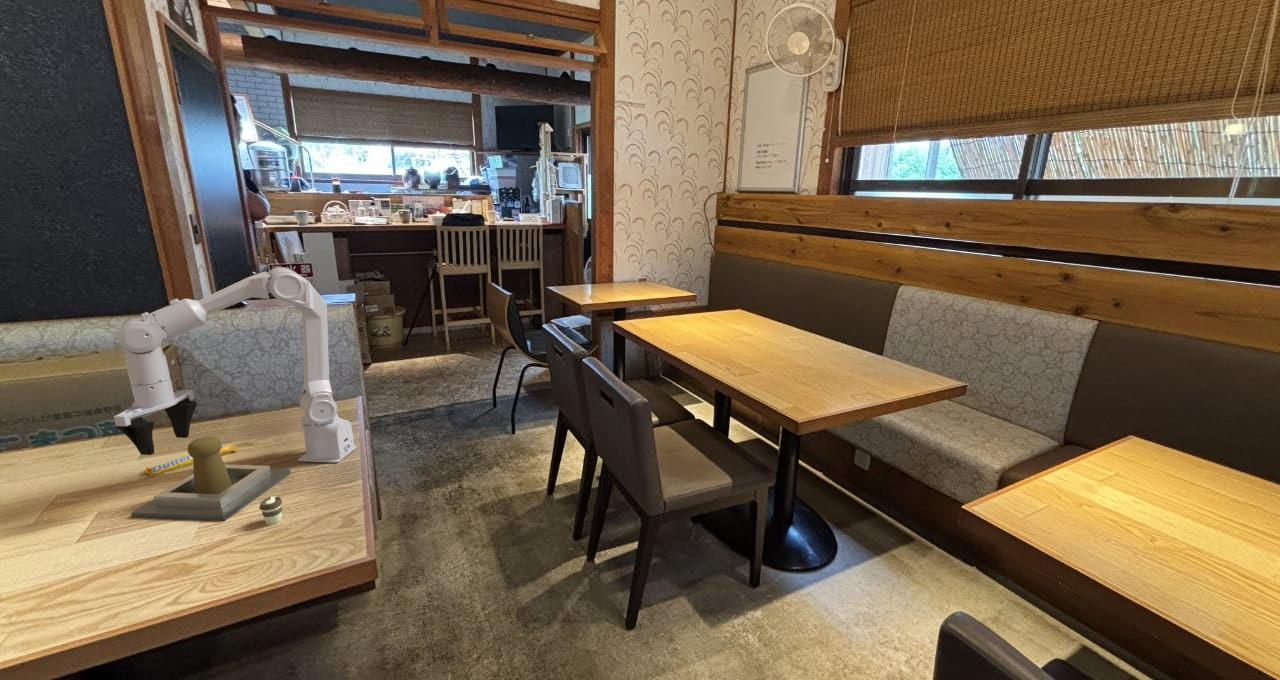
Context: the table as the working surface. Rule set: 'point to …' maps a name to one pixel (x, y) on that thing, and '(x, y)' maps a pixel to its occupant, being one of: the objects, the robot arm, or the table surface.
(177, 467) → the candy bar
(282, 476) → the socket board
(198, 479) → the brown rounded piece
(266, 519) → the coffee cup
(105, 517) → the table surface
